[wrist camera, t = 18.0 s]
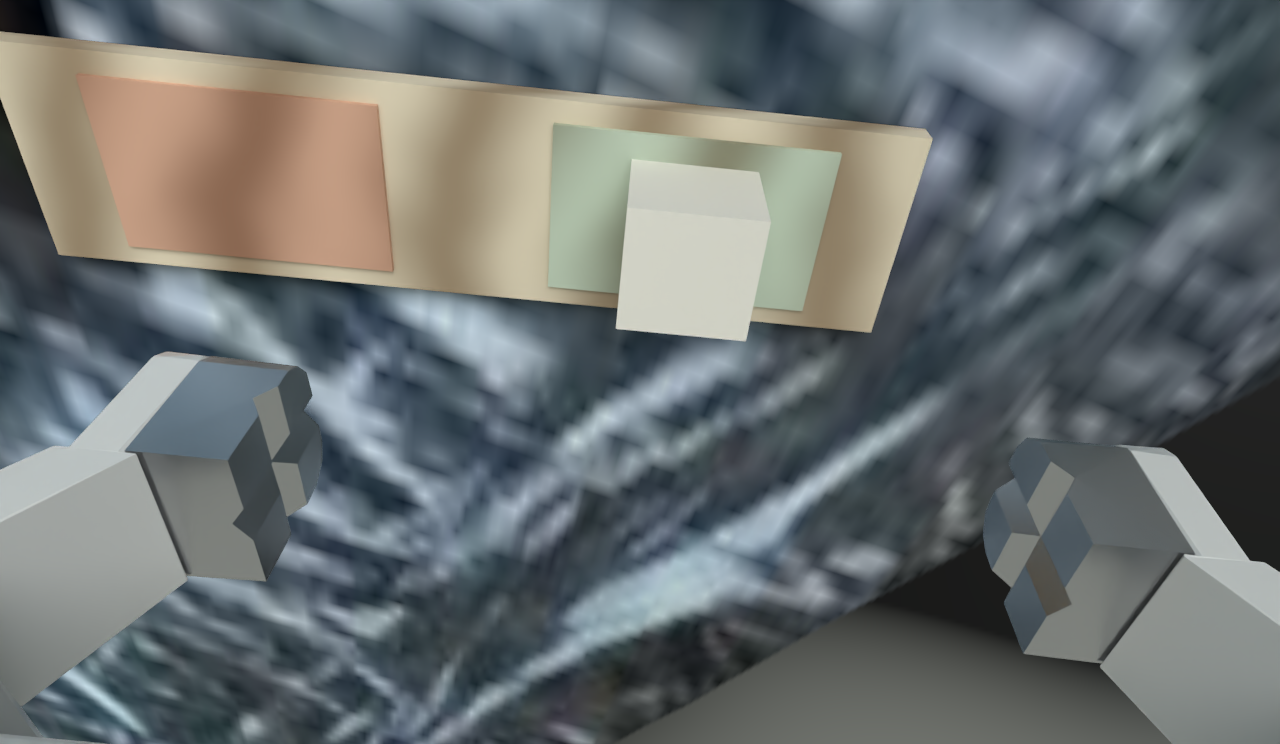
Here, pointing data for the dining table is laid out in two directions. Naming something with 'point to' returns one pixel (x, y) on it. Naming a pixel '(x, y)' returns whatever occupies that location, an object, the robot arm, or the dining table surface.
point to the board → (430, 176)
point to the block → (692, 250)
